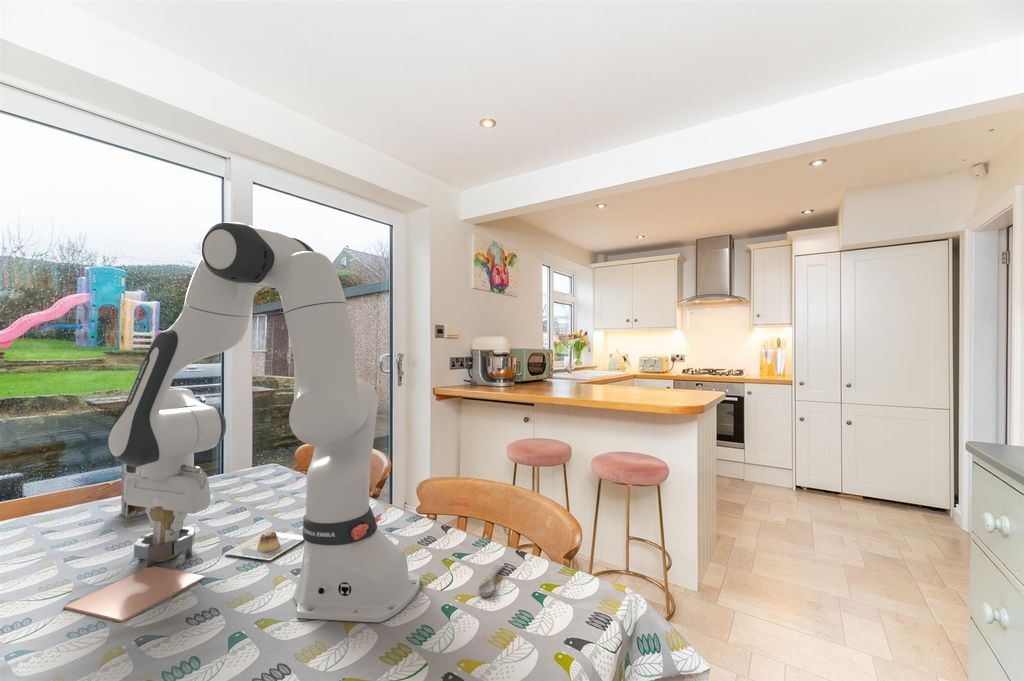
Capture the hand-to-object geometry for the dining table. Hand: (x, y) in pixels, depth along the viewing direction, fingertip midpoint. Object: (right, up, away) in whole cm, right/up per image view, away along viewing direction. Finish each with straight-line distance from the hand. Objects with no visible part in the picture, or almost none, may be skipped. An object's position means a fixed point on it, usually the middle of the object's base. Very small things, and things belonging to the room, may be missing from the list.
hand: (166, 528), depth 91 cm
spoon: (+70, -7, -9) cm, 71 cm away
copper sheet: (+6, -6, -13) cm, 15 cm away
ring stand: (0, -6, 0) cm, 6 cm away
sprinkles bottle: (0, -6, 0) cm, 6 cm away
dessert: (+19, -7, +5) cm, 21 cm away
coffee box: (-27, -7, +26) cm, 38 cm away
